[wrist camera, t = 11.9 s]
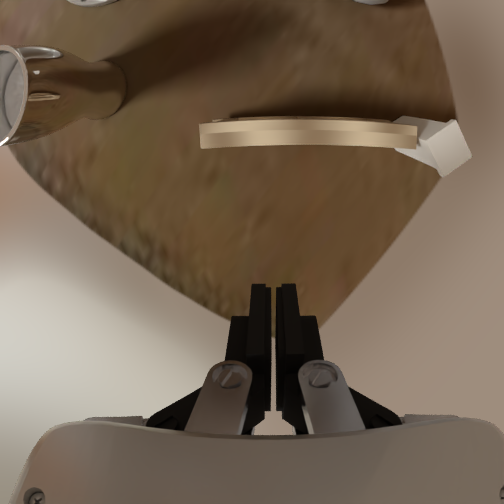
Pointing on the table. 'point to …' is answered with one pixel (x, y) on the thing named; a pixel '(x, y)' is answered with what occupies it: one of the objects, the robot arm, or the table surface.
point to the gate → (306, 132)
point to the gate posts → (437, 144)
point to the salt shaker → (371, 1)
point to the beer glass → (53, 91)
